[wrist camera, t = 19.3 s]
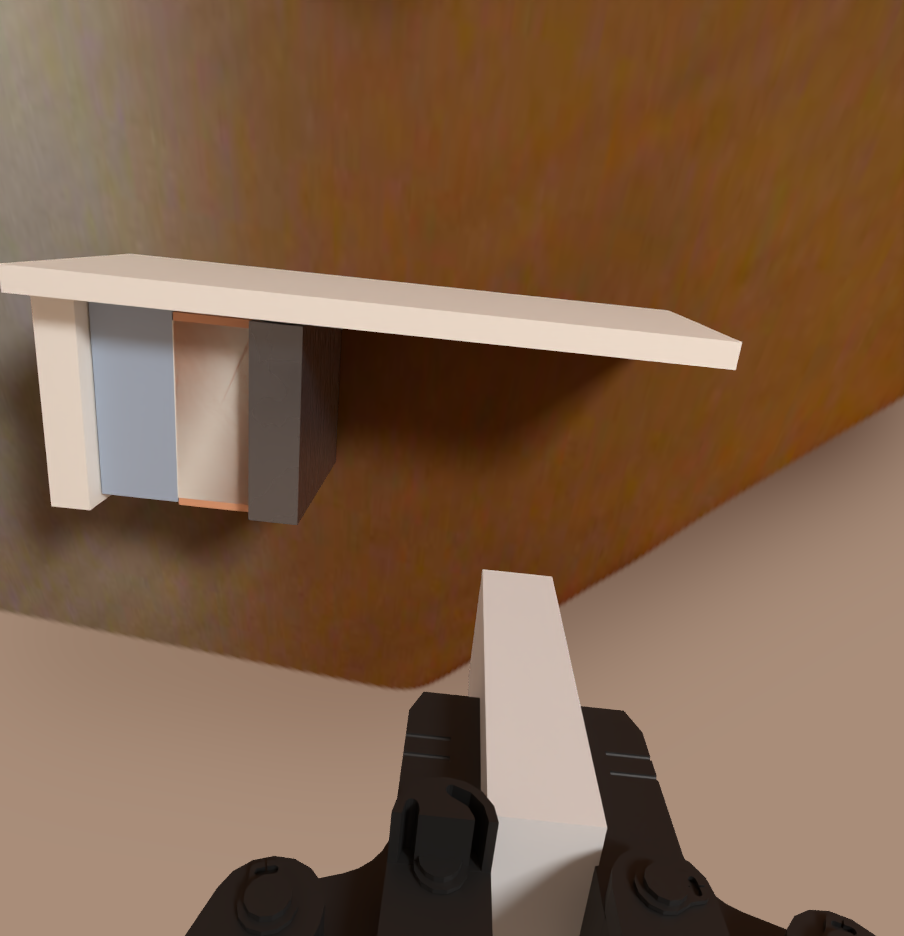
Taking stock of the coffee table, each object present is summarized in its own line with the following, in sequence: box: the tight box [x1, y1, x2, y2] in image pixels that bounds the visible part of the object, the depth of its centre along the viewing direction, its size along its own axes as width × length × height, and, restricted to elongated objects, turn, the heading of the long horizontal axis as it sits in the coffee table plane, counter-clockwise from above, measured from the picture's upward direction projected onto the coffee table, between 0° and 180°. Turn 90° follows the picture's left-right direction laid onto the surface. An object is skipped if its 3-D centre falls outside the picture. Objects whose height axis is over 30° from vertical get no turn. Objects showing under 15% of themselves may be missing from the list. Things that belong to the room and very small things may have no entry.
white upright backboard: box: [0, 254, 742, 510], centre depth 37 cm, size 32×12×12 cm, turn 84°
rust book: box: [172, 311, 253, 512], centre depth 39 cm, size 4×10×9 cm, turn 174°
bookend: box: [248, 319, 342, 525], centre depth 38 cm, size 2×10×10 cm, turn 174°
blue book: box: [89, 302, 179, 502], centre depth 39 cm, size 4×10×9 cm, turn 174°
